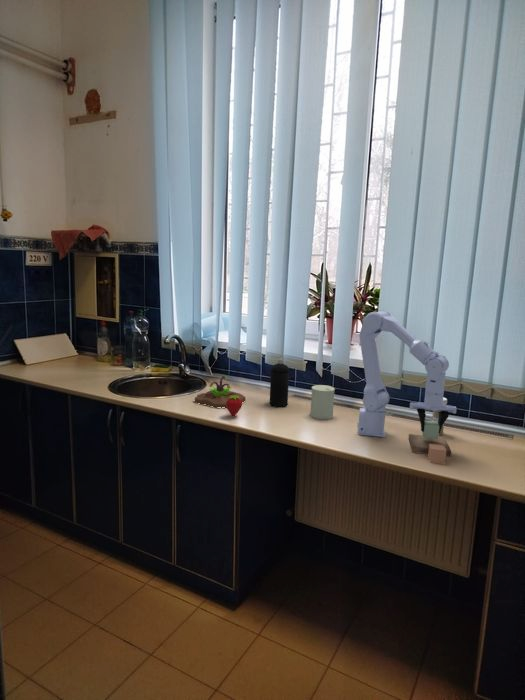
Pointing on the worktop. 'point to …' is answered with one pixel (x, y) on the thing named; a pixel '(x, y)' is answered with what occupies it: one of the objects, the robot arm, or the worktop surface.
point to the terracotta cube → (437, 453)
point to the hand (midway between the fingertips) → (430, 431)
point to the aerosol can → (279, 384)
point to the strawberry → (234, 404)
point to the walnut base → (426, 444)
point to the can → (322, 402)
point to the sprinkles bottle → (436, 414)
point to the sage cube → (431, 429)
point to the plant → (217, 395)
